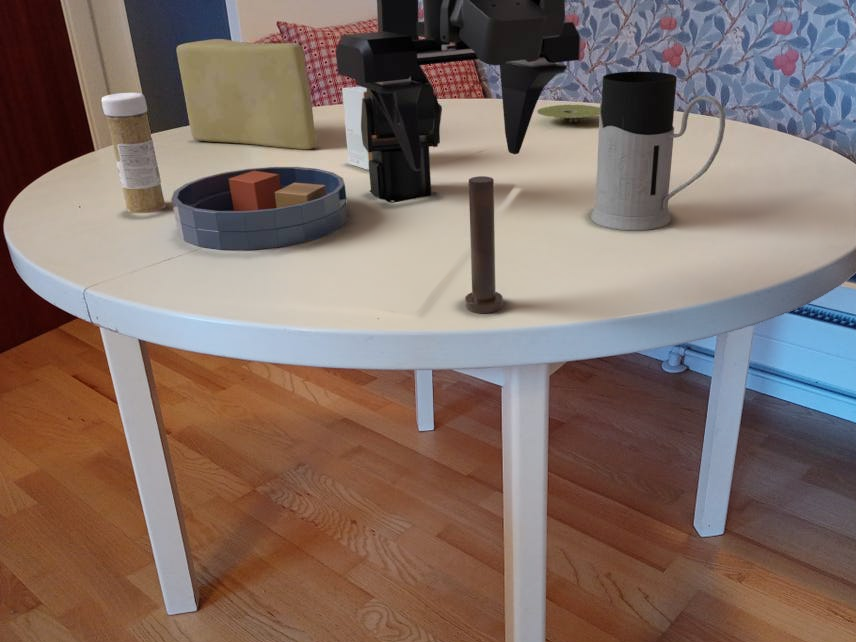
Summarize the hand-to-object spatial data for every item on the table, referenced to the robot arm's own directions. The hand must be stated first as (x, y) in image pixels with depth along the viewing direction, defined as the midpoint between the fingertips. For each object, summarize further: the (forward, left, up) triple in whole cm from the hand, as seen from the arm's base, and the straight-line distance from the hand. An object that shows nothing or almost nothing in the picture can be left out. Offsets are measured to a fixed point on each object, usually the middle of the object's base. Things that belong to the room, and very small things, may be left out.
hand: (466, 161), depth 67 cm
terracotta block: (+8, -35, -11) cm, 38 cm away
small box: (-14, -49, -12) cm, 52 cm away
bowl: (+9, -30, -12) cm, 34 cm away
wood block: (+5, -27, -11) cm, 30 cm away
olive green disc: (-52, -56, -12) cm, 77 cm away
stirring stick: (0, +2, -12) cm, 12 cm away
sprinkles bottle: (+19, -44, -12) cm, 49 cm away
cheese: (-4, -73, -12) cm, 74 cm away
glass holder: (-27, -7, -12) cm, 30 cm away
